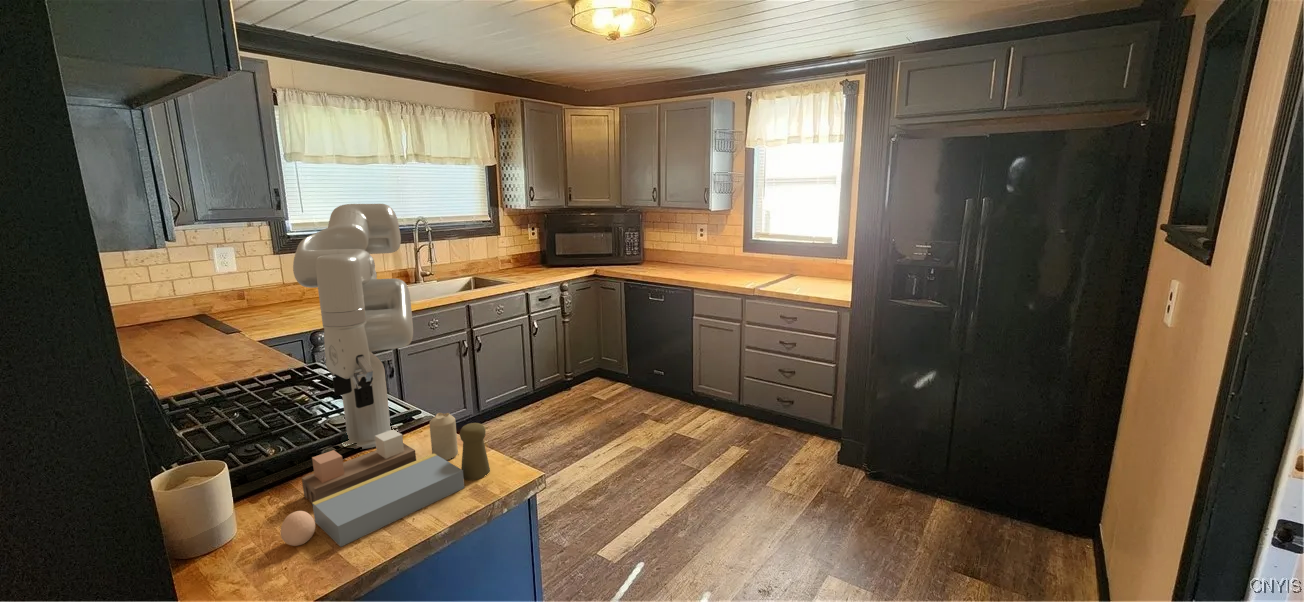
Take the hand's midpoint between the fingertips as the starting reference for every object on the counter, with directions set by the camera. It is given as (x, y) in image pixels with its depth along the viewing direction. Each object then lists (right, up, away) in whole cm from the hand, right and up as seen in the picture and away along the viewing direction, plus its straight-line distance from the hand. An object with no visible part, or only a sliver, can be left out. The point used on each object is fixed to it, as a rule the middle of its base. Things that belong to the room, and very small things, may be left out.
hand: (354, 399), depth 111 cm
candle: (+13, -16, +15) cm, 25 cm away
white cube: (+4, -13, +8) cm, 15 cm away
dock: (+10, -20, -4) cm, 22 cm away
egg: (-1, -22, -15) cm, 27 cm away
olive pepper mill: (+22, -17, +8) cm, 29 cm away
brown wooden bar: (0, -18, +4) cm, 19 cm away
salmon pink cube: (-4, -15, -2) cm, 15 cm away
